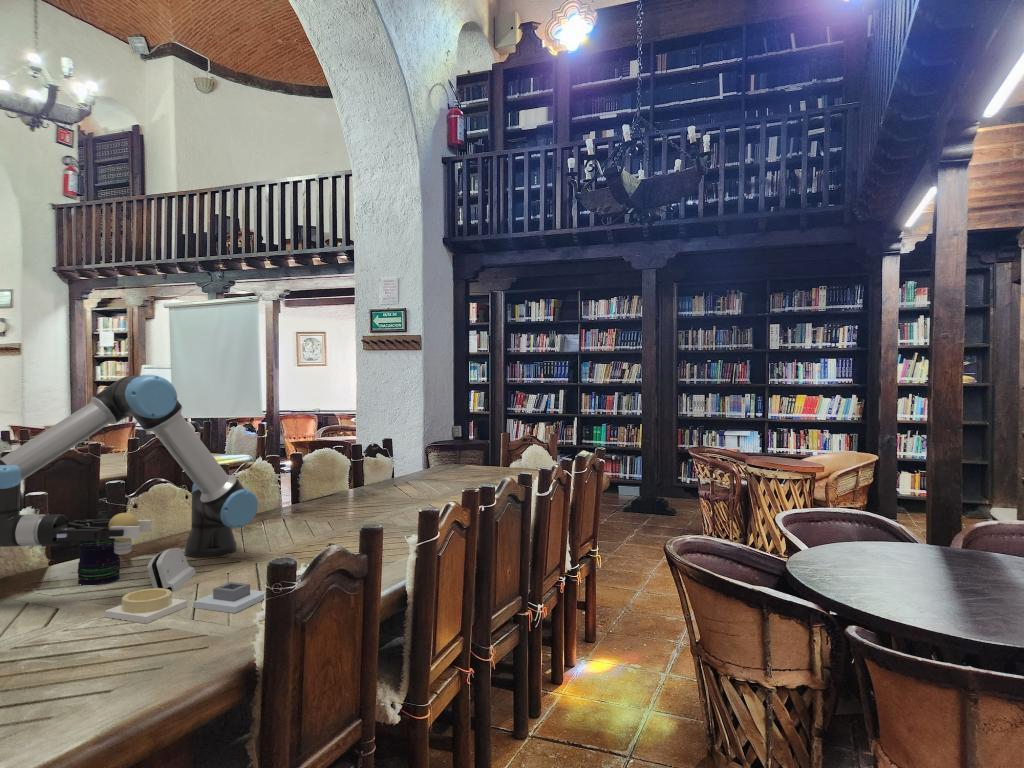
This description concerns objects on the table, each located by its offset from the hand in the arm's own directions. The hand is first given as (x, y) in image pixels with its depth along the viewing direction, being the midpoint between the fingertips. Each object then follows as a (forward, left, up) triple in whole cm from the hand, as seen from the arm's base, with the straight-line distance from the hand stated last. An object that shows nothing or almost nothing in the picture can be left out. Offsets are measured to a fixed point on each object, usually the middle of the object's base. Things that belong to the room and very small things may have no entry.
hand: (145, 528), depth 161 cm
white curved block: (-14, -5, -18) cm, 24 cm away
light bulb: (+2, -5, -6) cm, 8 cm away
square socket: (-6, +21, -18) cm, 28 cm away
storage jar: (-9, -25, -18) cm, 32 cm away
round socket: (+6, +7, -18) cm, 20 cm away
